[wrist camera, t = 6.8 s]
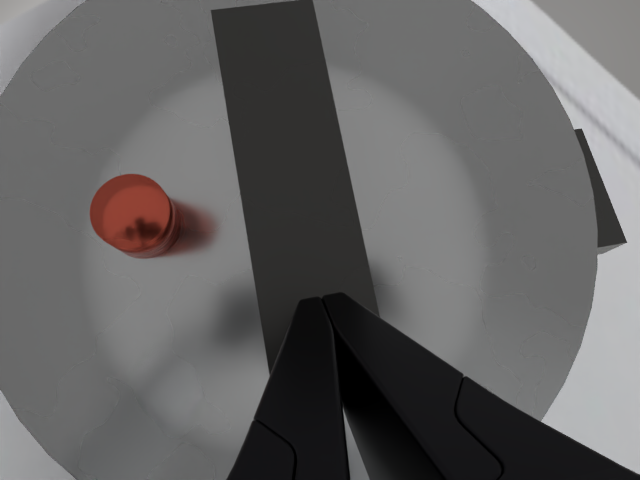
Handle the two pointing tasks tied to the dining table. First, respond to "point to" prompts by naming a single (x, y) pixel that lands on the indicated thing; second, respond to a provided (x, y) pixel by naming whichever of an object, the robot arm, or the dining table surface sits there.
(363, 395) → the robot arm
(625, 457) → the dining table surface
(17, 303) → the pot lid
